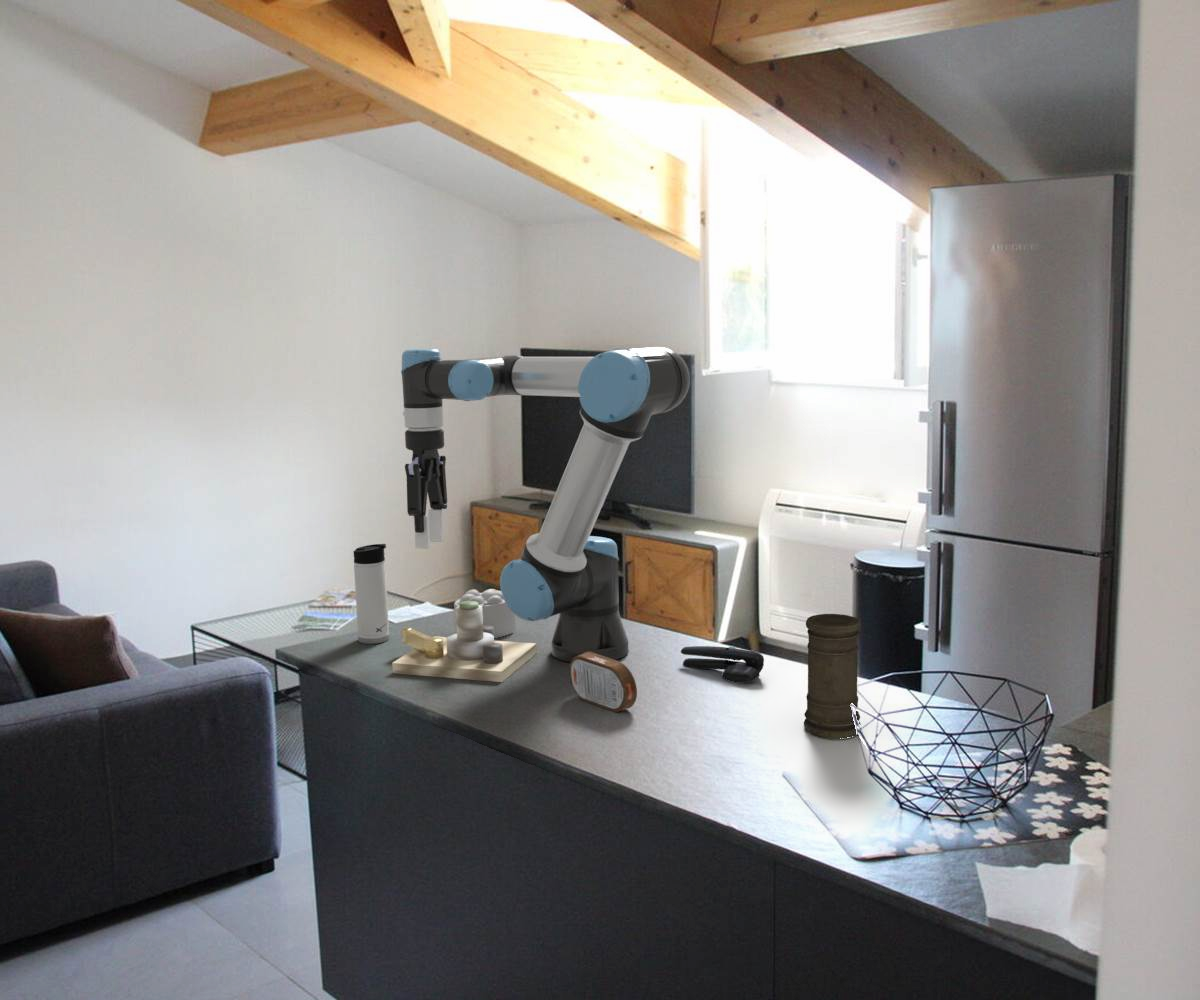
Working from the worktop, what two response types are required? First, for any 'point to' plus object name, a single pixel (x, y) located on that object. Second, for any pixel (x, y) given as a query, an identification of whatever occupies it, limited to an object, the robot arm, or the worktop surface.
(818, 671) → the container
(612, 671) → the tin
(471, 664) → the base
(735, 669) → the can opener
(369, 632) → the travel mug
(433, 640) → the brass ball lever
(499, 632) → the paw-shaped mold
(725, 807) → the worktop surface
